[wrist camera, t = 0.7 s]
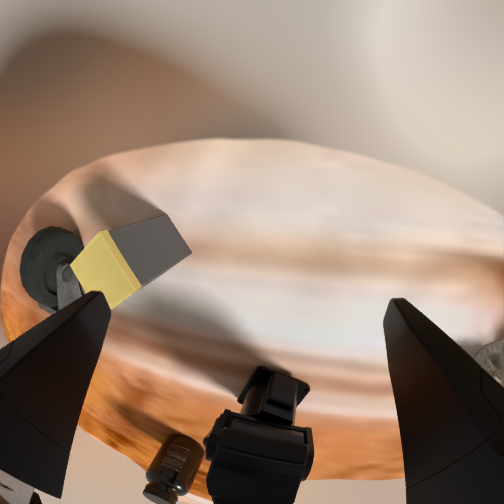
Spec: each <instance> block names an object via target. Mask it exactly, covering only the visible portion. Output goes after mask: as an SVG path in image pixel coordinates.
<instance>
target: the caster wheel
mask: <svg viewBox="0 0 504 504" xmlns="http://www.w3.org/2000/svg"><path fill="white" fill-rule="evenodd" d="M83 249H84V248H83V245H82V243H81V240H80V239H79V238H78V237H77V236H76V235H75V234H74V233H72V232H71V231H68V230H66V229H63V228H60V227H54V226H50V227H47V228H45V229H42V230H40V231H38V232H37V233H36V234H35V235H34V236H33V237H32V238H31V239H30V240H29V241H28V243H27V245H26V247H25V249H24V252H23V254H22V258H21V264H20V275H21V280H22V285H23V287H24V288H25V290H26V291H27V293H28V294H29V296H30V297H32V298H33V299H35V300H36V301H37V302H39V307H40V308H41V309H45V310H46V311H48V312H49V313H51V314H52V315H53V314H54V313H56V312H57V311H59V310H60V309H62V308H64V307H65V306H67V305H68V304H70V303H72V302H73V301H75V300H76V299H78V298H80V297H81V296H82V294H81V291H80V287H79V284H80V282H79V280H78V279H77V277H76V275H75V273H74V272H73V270H72V268H71V266H70V264H71V263H72V262H73V261H74V260H75V259H76V257H77V256H78V255H79V254H80V253H81V252H82V251H83Z"/></svg>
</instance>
